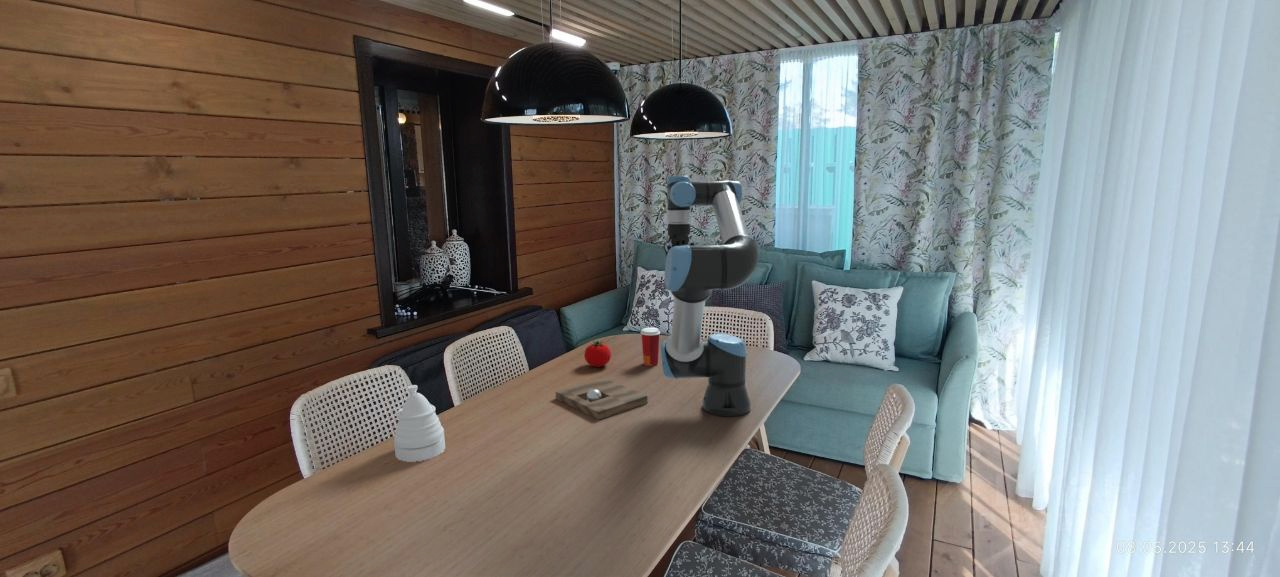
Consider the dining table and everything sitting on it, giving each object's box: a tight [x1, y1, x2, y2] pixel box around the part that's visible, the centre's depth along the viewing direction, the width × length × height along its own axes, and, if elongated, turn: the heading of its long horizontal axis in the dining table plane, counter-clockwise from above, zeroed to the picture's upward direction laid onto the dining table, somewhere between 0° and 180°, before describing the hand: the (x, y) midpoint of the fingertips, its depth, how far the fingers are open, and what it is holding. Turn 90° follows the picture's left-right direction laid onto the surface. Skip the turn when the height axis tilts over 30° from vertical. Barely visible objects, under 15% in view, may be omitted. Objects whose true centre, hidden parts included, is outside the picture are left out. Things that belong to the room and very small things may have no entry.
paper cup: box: [639, 327, 661, 367], centre depth 231 cm, size 8×8×14 cm
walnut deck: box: [555, 377, 648, 421], centre depth 195 cm, size 24×20×2 cm
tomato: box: [583, 340, 612, 368], centre depth 230 cm, size 10×10×10 cm
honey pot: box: [393, 384, 446, 463], centre depth 159 cm, size 13×13×18 cm
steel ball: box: [586, 389, 602, 402], centre depth 192 cm, size 5×5×5 cm
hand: (679, 293), depth 198 cm, fingers closed
